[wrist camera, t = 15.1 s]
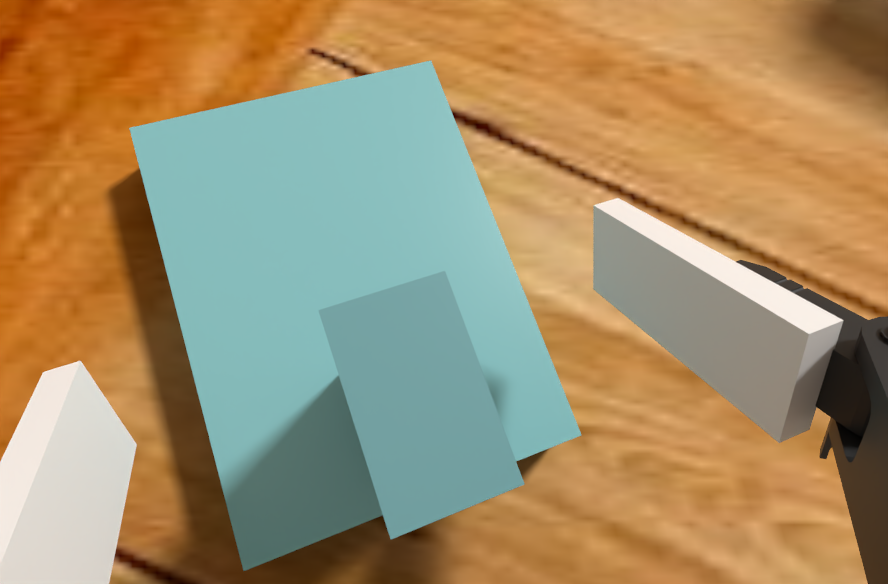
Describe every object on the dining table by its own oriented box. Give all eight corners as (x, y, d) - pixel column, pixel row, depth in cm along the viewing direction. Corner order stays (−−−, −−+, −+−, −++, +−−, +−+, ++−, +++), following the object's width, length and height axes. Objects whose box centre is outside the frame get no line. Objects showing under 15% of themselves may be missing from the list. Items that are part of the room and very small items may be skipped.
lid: (153, 158, 21) (-67, -122, 11) (425, 93, 24) (470, -187, 13) (258, 555, 18) (96, 726, 8) (560, 435, 21) (764, 434, 10)
